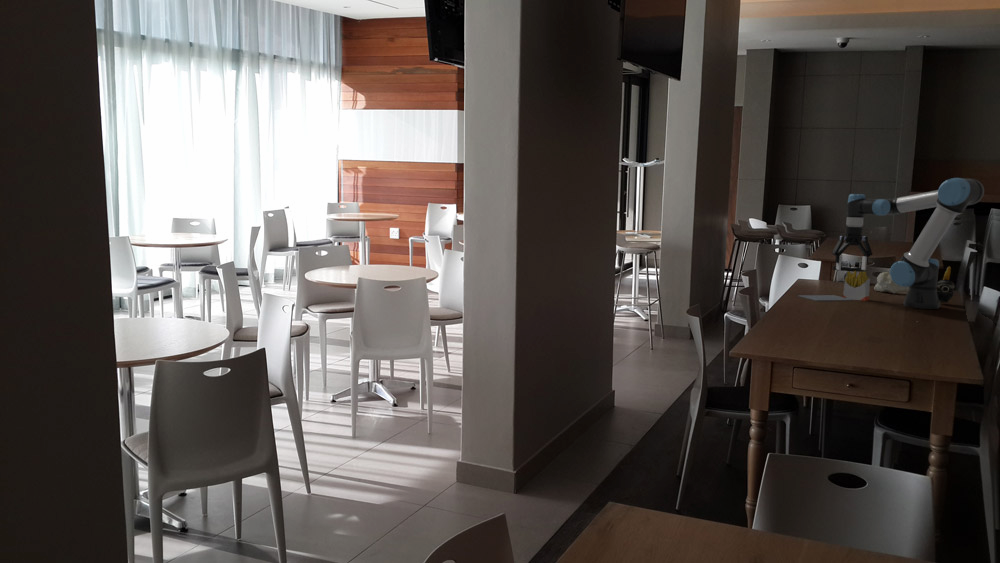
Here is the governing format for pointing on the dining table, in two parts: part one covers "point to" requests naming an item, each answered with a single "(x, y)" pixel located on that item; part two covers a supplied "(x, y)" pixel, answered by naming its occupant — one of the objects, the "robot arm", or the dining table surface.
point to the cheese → (888, 284)
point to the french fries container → (856, 286)
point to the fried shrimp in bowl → (945, 287)
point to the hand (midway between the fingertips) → (850, 269)
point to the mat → (825, 298)
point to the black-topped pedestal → (847, 270)
